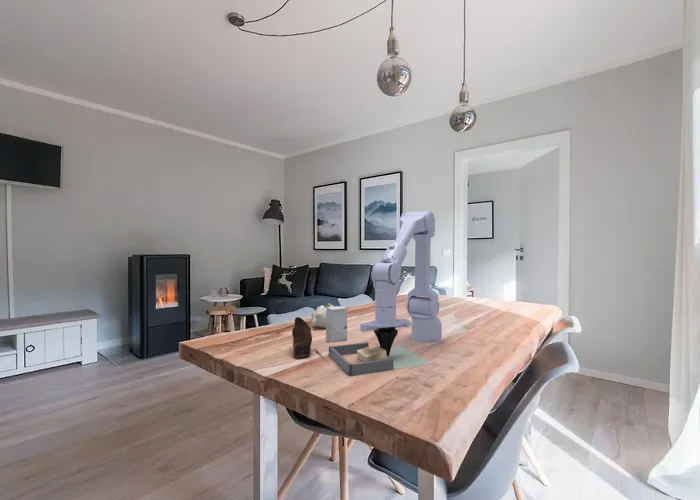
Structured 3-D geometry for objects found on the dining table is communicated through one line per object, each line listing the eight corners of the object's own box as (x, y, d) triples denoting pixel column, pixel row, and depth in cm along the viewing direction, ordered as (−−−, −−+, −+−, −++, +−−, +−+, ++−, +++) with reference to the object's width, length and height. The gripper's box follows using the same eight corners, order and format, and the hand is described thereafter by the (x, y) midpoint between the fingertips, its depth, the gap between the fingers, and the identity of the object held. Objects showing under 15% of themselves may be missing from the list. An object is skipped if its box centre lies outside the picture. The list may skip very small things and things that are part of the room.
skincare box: (332, 346, 107) (332, 309, 107) (325, 343, 111) (325, 307, 111) (348, 343, 110) (348, 307, 110) (340, 340, 114) (340, 305, 114)
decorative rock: (293, 347, 107) (293, 313, 107) (312, 346, 107) (312, 313, 107) (290, 359, 95) (290, 322, 95) (312, 359, 95) (312, 321, 95)
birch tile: (377, 354, 94) (375, 344, 94) (387, 361, 89) (386, 350, 89) (358, 360, 92) (356, 350, 92) (367, 368, 86) (366, 357, 86)
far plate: (401, 351, 102) (401, 346, 102) (431, 369, 87) (431, 363, 87) (368, 355, 98) (368, 350, 98) (395, 374, 83) (395, 369, 83)
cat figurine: (332, 300, 142) (314, 301, 128) (346, 311, 139) (329, 313, 125) (320, 318, 143) (302, 321, 129) (334, 330, 140) (317, 334, 126)
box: (367, 355, 98) (367, 342, 98) (393, 375, 83) (393, 359, 83) (328, 360, 94) (328, 346, 94) (348, 382, 79) (348, 365, 79)
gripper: (400, 302, 98) (400, 347, 98) (355, 305, 92) (355, 354, 92) (414, 305, 91) (413, 355, 91) (366, 309, 86) (366, 362, 86)
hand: (385, 355), depth 91 cm, fingers closed
